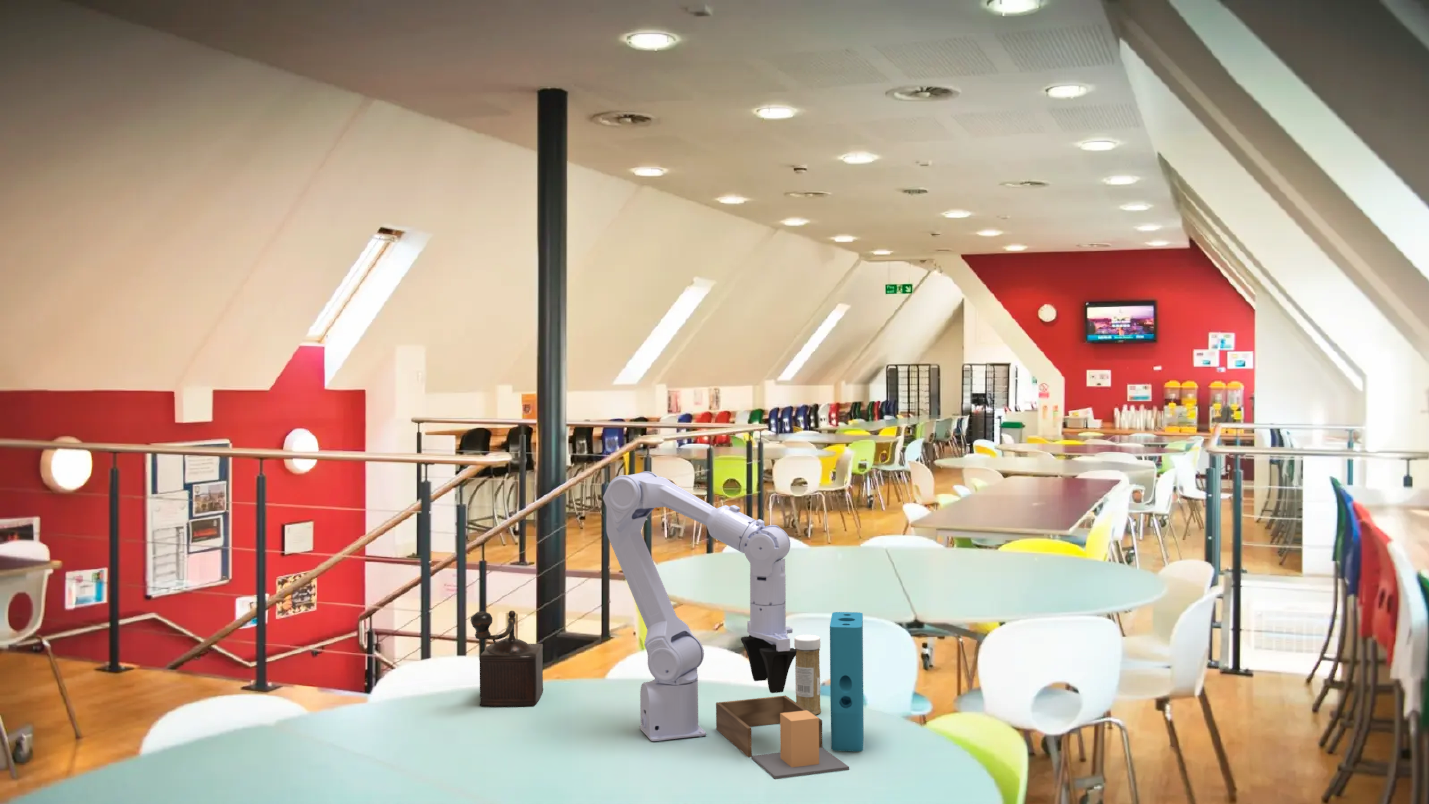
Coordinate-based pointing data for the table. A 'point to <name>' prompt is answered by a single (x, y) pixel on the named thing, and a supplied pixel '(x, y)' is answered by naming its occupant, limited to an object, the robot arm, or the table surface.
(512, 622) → the manual coffee grinder
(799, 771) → the charcoal mat
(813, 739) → the orange block
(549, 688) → the table surface
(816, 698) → the sprinkles bottle
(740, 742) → the walnut box
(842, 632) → the block
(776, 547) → the robot arm
